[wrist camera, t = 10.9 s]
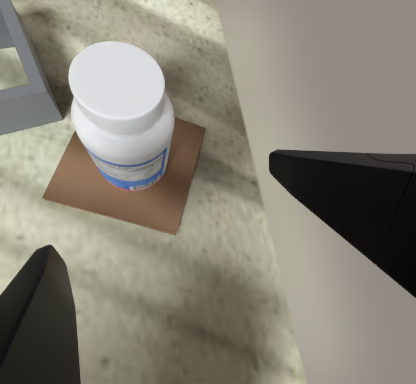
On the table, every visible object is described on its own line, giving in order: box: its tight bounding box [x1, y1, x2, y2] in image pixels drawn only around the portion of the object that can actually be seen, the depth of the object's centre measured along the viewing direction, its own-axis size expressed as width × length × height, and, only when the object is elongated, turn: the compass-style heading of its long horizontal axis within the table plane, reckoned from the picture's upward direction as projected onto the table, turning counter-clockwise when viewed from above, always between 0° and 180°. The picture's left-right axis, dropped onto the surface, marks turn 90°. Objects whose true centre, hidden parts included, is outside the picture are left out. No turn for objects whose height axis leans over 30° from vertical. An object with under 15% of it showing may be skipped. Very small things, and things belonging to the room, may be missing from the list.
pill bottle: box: [68, 41, 175, 191], centre depth 15 cm, size 6×5×10 cm
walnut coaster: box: [42, 118, 205, 235], centre depth 20 cm, size 10×10×1 cm
